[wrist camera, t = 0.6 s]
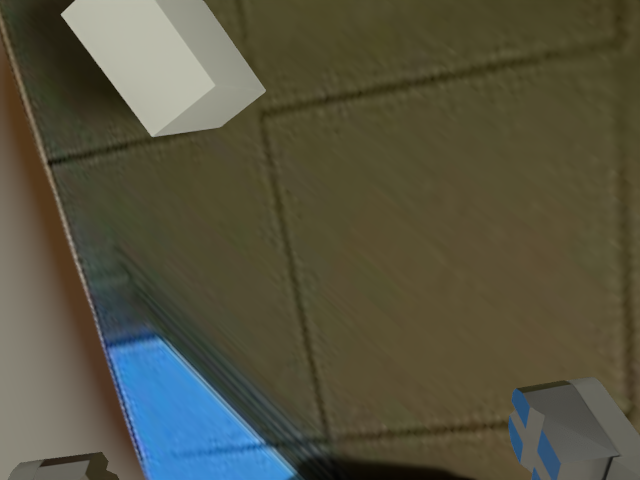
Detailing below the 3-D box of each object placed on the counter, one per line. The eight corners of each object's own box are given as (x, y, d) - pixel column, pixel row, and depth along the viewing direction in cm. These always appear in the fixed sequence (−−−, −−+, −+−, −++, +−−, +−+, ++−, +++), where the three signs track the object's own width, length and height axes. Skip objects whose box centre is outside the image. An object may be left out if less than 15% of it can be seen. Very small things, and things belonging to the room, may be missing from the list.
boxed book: (266, 91, 48) (215, 85, 33) (219, 127, 49) (152, 136, 35) (203, 0, 46) (122, -46, 32) (157, 40, 48) (60, 13, 33)
